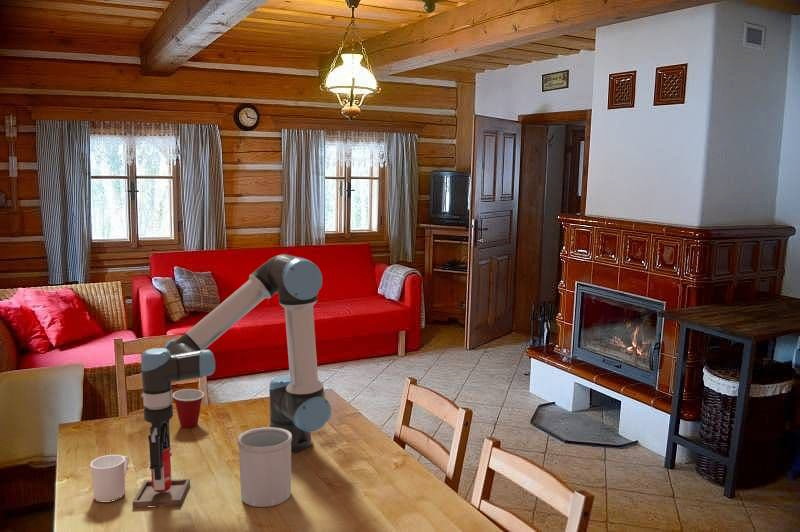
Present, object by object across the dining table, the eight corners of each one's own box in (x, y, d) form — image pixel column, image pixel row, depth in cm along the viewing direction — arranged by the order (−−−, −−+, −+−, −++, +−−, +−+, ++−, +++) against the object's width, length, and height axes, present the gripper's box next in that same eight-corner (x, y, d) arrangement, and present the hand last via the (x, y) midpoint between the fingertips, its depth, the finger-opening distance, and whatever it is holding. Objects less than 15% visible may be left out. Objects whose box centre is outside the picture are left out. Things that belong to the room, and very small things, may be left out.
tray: (190, 484, 198) (189, 478, 198) (180, 506, 186) (180, 500, 186) (145, 486, 197) (145, 480, 197) (132, 508, 185) (132, 501, 184)
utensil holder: (246, 482, 200) (245, 425, 197) (297, 483, 199) (296, 426, 197) (233, 507, 185) (231, 446, 183) (287, 509, 185) (286, 447, 182)
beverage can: (153, 494, 188) (151, 453, 186) (151, 486, 192) (148, 446, 190) (173, 490, 190) (171, 449, 188) (170, 482, 195) (168, 442, 193)
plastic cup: (195, 433, 236) (194, 399, 234) (167, 429, 238) (166, 397, 237) (211, 421, 246) (210, 389, 244) (184, 418, 249) (183, 387, 247)
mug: (105, 507, 185) (103, 471, 184) (85, 498, 190) (83, 463, 188) (139, 490, 194) (137, 456, 193) (120, 483, 199) (118, 449, 197)
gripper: (152, 394, 196) (156, 470, 200) (134, 417, 178) (139, 500, 182) (179, 393, 197) (182, 469, 200) (163, 416, 179) (168, 499, 182)
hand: (162, 484), depth 191 cm, fingers closed on beverage can, 5 cm apart
